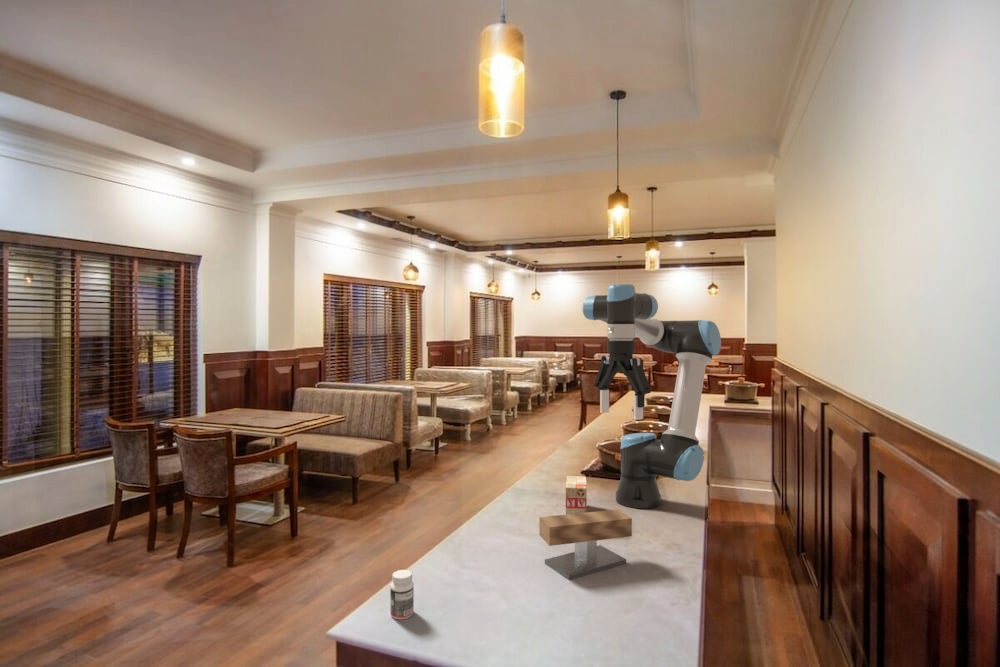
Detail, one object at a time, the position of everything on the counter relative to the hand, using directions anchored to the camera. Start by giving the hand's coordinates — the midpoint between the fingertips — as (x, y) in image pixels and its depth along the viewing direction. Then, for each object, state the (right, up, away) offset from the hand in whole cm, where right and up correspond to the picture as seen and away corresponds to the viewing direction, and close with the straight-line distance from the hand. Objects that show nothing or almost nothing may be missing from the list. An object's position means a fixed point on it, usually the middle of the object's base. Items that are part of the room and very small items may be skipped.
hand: (620, 415), depth 148 cm
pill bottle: (-54, -35, -38) cm, 75 cm away
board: (-12, -28, -15) cm, 34 cm away
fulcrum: (-12, -35, -15) cm, 40 cm away
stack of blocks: (-10, -35, +19) cm, 41 cm away
